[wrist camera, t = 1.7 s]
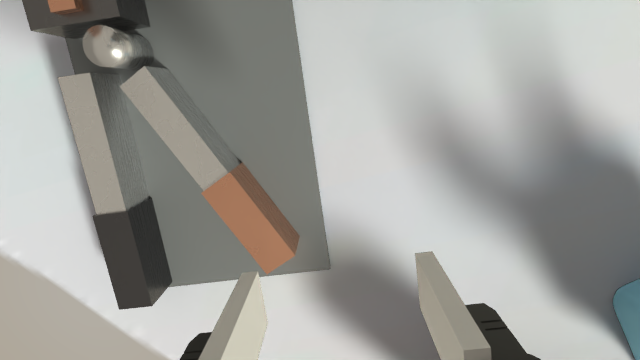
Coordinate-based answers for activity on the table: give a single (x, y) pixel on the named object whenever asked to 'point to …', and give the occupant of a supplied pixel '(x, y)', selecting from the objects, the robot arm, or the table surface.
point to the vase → (629, 314)
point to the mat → (228, 129)
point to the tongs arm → (197, 146)
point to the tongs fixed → (110, 151)
